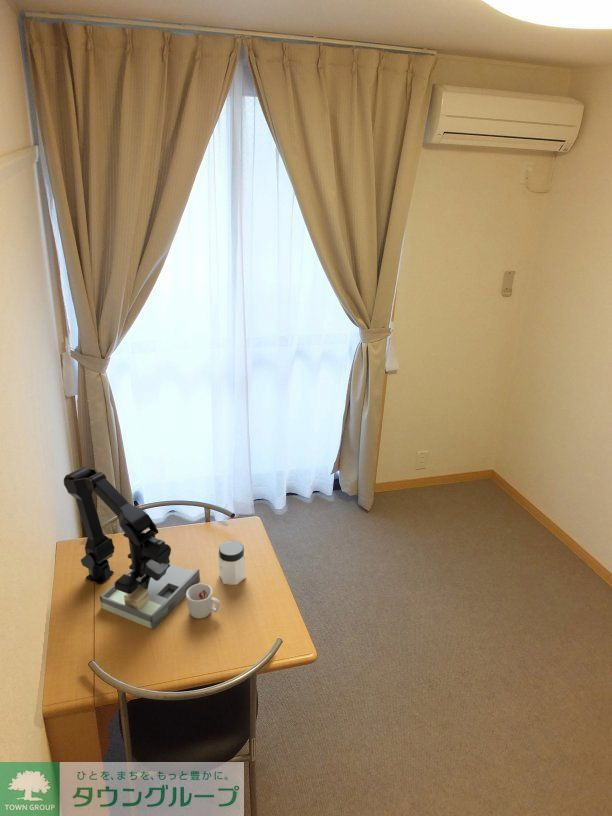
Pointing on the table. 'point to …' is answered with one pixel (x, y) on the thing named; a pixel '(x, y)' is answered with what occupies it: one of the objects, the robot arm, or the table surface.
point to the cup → (201, 600)
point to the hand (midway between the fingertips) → (145, 590)
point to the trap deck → (153, 597)
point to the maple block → (136, 598)
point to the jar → (231, 562)
